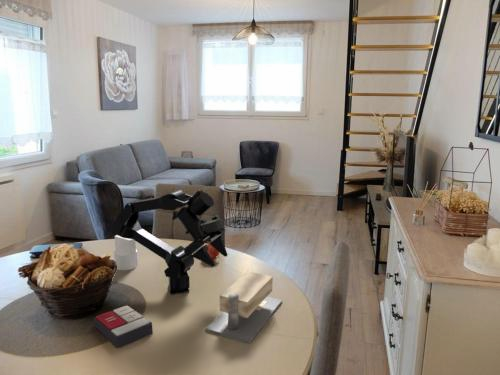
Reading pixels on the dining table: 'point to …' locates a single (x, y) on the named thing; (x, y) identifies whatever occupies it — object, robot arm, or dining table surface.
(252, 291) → the beige wooden block
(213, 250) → the pomegranate
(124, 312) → the red and grey box
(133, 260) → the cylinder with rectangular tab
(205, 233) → the robot arm
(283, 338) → the dining table surface
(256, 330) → the label board
